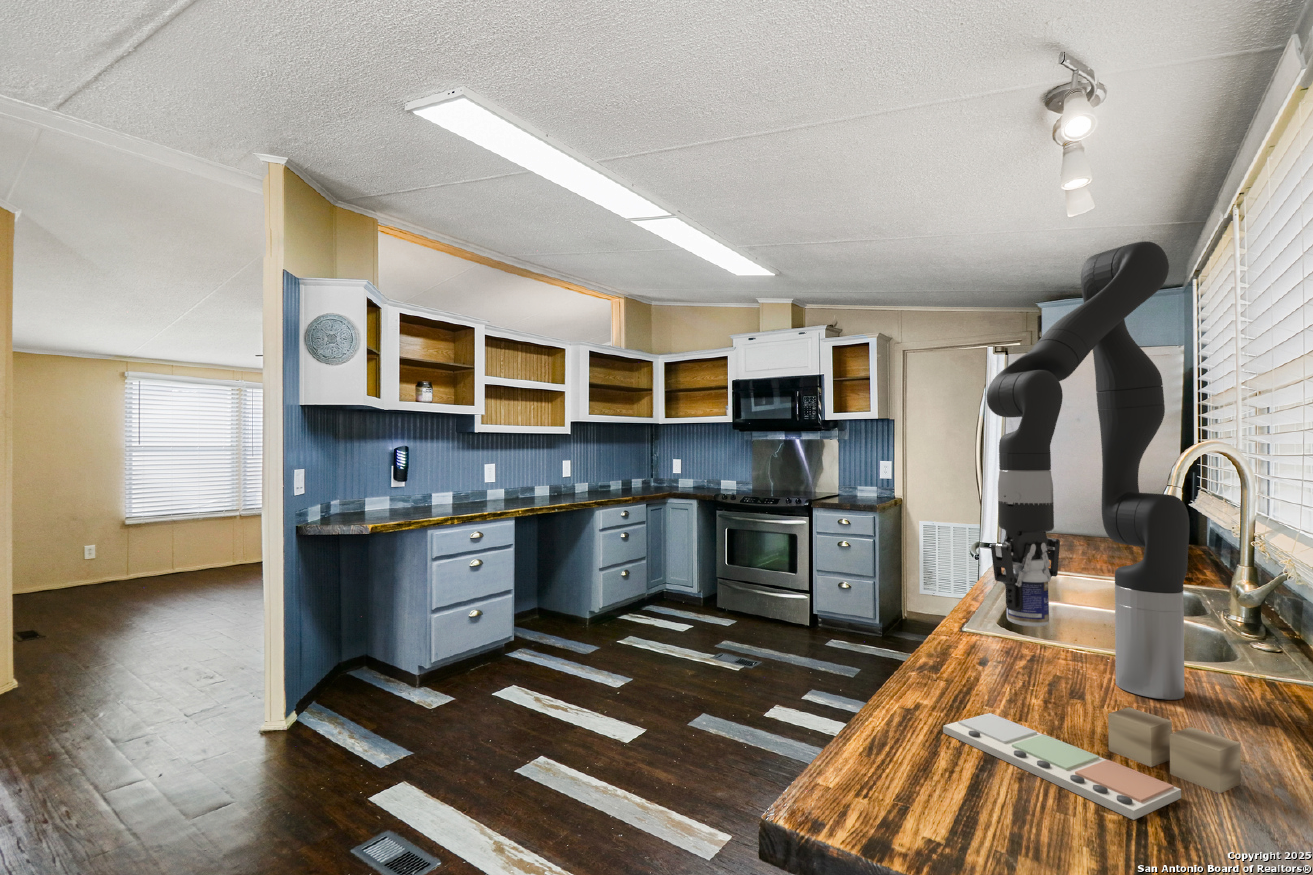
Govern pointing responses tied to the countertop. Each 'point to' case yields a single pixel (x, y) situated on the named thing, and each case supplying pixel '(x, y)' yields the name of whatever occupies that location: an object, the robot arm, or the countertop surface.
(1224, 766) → the maple block
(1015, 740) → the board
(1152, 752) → the maple block
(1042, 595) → the pill bottle
